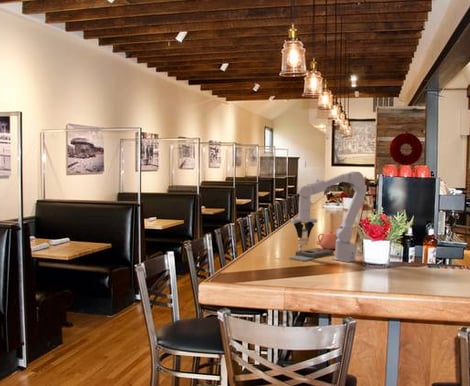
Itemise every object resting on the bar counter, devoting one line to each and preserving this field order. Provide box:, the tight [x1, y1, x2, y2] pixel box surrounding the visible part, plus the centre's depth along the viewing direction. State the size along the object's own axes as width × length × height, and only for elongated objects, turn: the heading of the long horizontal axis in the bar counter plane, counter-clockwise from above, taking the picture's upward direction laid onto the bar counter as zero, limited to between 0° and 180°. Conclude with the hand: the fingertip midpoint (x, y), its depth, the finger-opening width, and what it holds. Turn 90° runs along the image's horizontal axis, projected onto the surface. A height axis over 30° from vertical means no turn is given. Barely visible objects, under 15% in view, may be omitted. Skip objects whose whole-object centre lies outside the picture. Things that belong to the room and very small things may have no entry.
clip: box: [297, 243, 303, 252], centre depth 256 cm, size 2×10×3 cm, turn 177°
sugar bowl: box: [316, 230, 337, 250], centre depth 278 cm, size 12×14×10 cm
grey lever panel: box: [295, 247, 335, 259], centre depth 256 cm, size 10×20×2 cm, turn 136°
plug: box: [297, 228, 310, 246], centre depth 244 cm, size 6×6×8 cm
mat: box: [288, 255, 315, 262], centre depth 243 cm, size 9×8×1 cm
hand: (303, 237), depth 244 cm, fingers closed on plug, 4 cm apart
